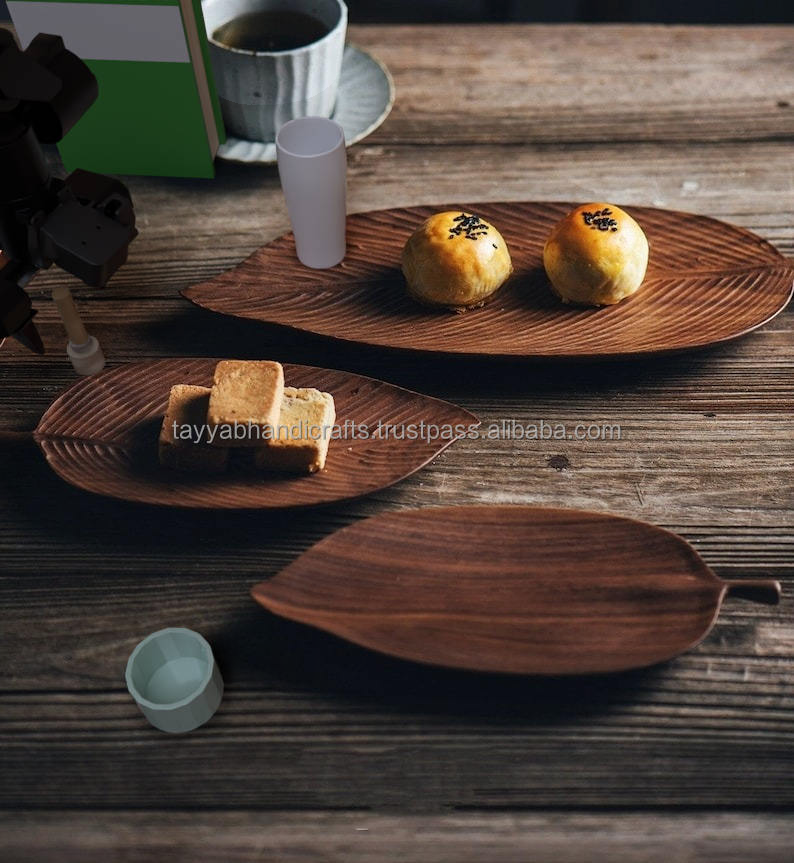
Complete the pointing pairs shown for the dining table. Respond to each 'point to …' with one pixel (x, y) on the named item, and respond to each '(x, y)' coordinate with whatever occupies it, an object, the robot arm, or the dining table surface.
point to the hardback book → (136, 84)
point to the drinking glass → (314, 187)
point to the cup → (175, 679)
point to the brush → (78, 336)
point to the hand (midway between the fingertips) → (70, 319)
